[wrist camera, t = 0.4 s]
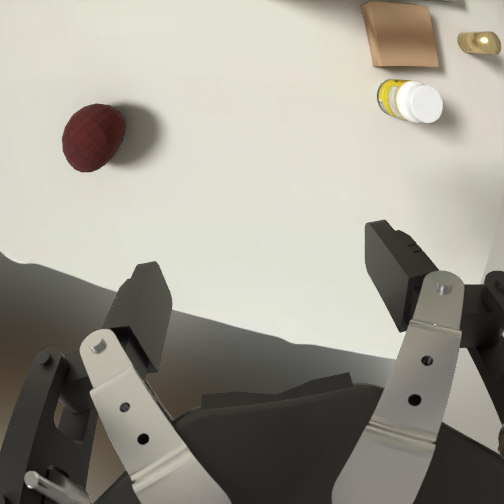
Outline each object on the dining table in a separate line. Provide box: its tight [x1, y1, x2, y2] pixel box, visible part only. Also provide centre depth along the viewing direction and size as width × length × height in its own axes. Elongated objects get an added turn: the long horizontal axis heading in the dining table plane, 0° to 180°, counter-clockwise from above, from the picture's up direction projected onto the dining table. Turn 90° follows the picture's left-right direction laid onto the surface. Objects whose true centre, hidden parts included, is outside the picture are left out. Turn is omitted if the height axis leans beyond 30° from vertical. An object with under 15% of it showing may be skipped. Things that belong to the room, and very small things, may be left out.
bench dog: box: [458, 32, 501, 54], centre depth 24 cm, size 3×3×6 cm
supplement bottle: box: [376, 79, 443, 123], centre depth 28 cm, size 5×5×8 cm
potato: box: [62, 104, 126, 172], centre depth 30 cm, size 7×8×6 cm
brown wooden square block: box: [361, 1, 439, 67], centre depth 26 cm, size 8×8×3 cm
